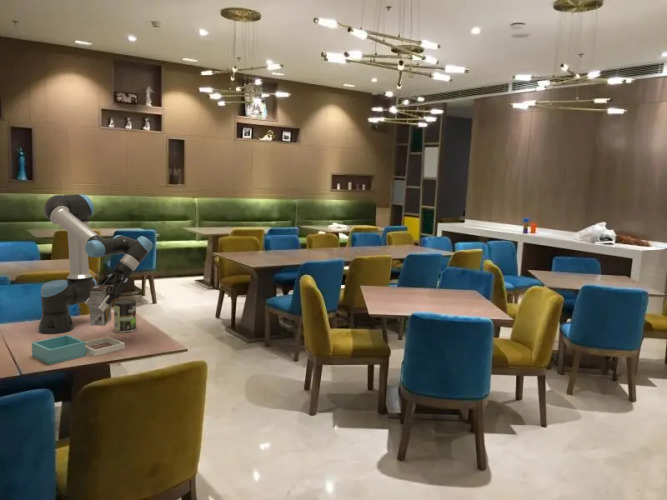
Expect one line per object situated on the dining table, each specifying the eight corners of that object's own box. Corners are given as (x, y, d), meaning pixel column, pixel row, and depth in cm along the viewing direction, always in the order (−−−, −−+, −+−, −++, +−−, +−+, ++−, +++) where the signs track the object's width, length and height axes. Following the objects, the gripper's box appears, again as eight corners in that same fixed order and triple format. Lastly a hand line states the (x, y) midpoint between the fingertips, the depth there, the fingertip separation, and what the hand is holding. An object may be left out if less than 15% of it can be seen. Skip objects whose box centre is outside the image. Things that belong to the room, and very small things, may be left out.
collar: (77, 349, 243) (77, 343, 242) (107, 341, 254) (107, 336, 253) (94, 356, 234) (94, 350, 234) (124, 348, 245) (124, 342, 245)
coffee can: (140, 327, 277) (140, 299, 275) (129, 333, 267) (128, 304, 265) (122, 325, 279) (121, 298, 277) (109, 331, 269) (108, 303, 267)
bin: (32, 356, 232) (31, 342, 231) (67, 347, 244) (67, 334, 243) (49, 364, 223) (49, 350, 222) (85, 355, 235) (85, 341, 234)
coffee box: (96, 319, 247) (95, 284, 244) (111, 320, 247) (111, 284, 244) (89, 325, 238) (88, 288, 235) (104, 326, 238) (104, 289, 236)
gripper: (146, 275, 244) (114, 317, 234) (117, 268, 258) (86, 307, 248) (135, 265, 239) (102, 307, 229) (106, 258, 253) (74, 297, 243)
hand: (93, 307), depth 239 cm, fingers closed on coffee box, 10 cm apart
